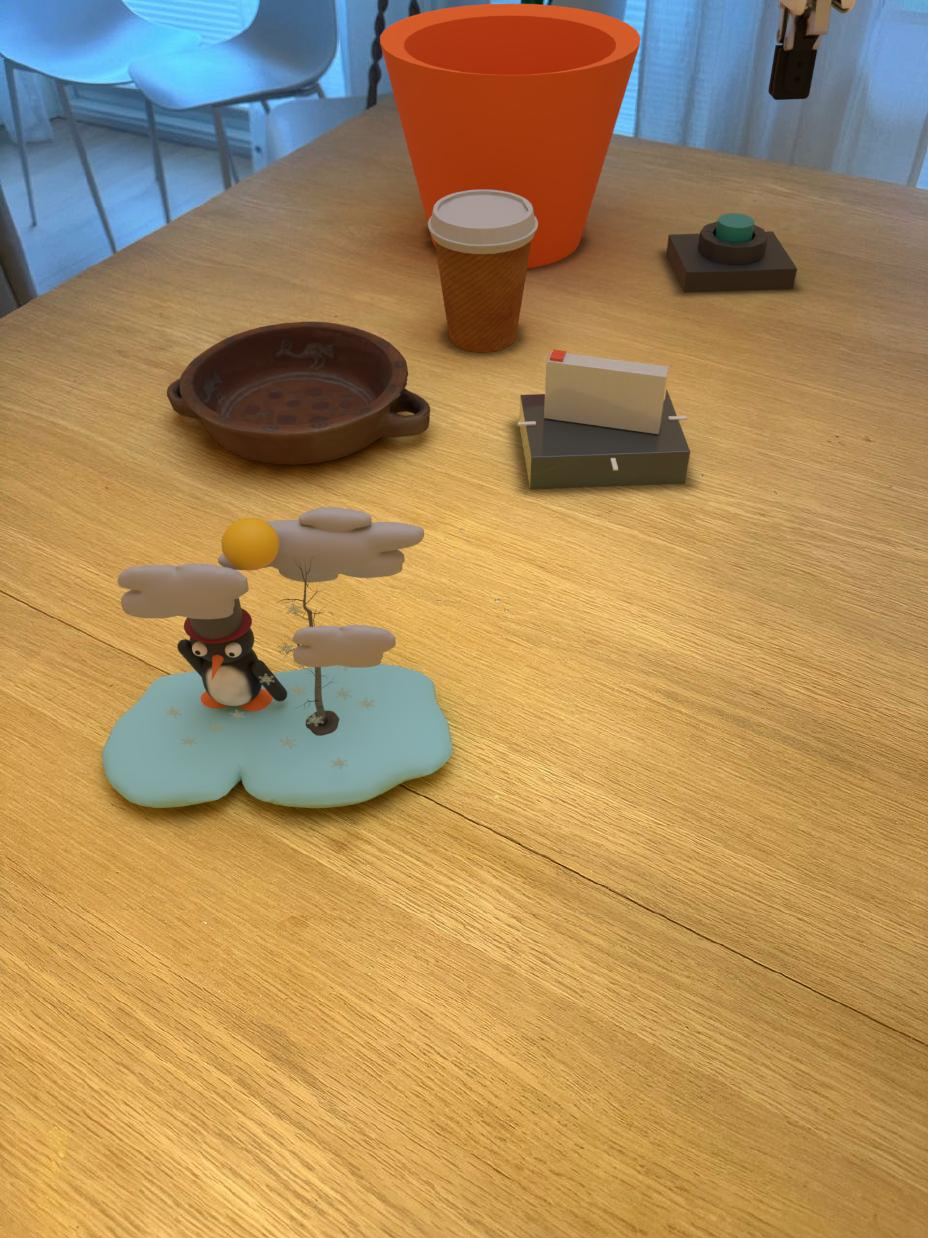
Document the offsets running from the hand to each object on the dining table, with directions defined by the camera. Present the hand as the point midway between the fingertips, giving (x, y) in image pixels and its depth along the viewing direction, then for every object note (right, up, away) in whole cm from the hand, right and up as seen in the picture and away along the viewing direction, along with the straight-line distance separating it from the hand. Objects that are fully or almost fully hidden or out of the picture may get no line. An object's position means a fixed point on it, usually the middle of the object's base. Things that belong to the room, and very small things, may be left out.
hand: (788, 95), depth 93 cm
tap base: (-18, -33, -9) cm, 39 cm away
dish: (-42, -30, -5) cm, 52 cm away
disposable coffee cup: (-27, -20, +6) cm, 34 cm away
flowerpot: (-24, -5, +22) cm, 33 cm away
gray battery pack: (-18, -31, -11) cm, 37 cm away
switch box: (-2, -10, +15) cm, 19 cm away
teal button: (-2, -8, +13) cm, 15 cm away
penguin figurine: (-39, -54, -31) cm, 73 cm away
